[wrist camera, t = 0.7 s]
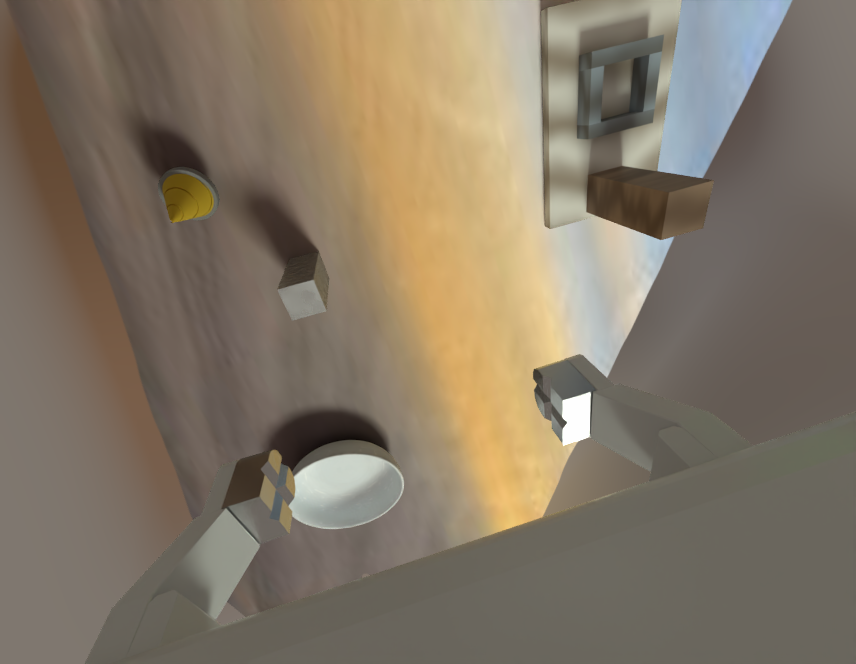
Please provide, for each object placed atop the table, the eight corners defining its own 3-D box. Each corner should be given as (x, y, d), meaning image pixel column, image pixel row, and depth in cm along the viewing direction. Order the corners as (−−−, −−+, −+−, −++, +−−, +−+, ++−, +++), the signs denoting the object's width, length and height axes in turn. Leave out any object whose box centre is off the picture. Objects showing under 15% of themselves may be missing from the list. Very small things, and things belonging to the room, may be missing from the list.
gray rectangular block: (289, 259, 46) (277, 289, 38) (318, 251, 47) (313, 279, 38) (301, 286, 48) (292, 320, 40) (329, 278, 49) (326, 310, 40)
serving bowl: (316, 509, 73) (313, 542, 68) (268, 446, 62) (260, 480, 56) (411, 477, 74) (416, 507, 68) (380, 409, 63) (384, 438, 57)
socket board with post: (540, 11, 38) (642, -46, 25) (674, -20, 39) (837, -90, 26) (545, 226, 51) (613, 261, 38) (645, 198, 52) (745, 224, 39)
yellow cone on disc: (212, 156, 38) (188, 190, 31) (231, 203, 42) (214, 244, 35) (158, 160, 38) (122, 197, 31) (183, 208, 41) (156, 251, 34)
